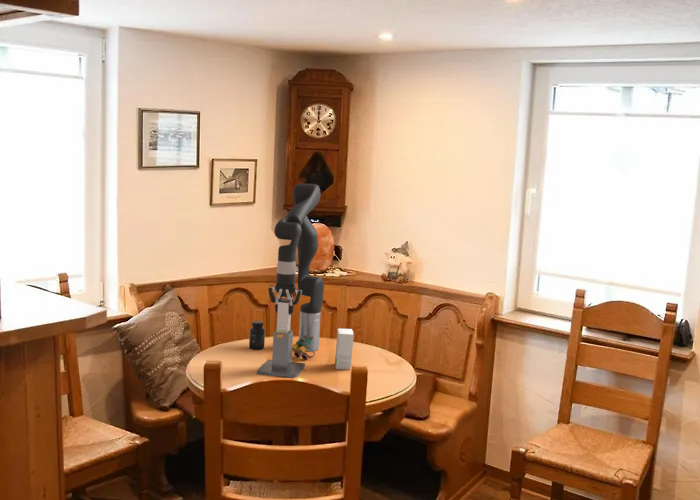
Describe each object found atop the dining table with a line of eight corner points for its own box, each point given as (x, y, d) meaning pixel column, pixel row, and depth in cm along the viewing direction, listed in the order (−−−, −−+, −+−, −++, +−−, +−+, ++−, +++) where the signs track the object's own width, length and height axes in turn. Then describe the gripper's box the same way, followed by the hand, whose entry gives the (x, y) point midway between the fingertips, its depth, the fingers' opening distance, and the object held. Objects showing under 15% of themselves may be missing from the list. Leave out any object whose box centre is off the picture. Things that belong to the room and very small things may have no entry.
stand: (268, 362, 299) (269, 325, 297) (305, 366, 296) (307, 329, 294) (256, 374, 283) (258, 335, 281) (295, 378, 281) (297, 339, 278)
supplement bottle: (245, 348, 318) (246, 322, 316) (255, 345, 324) (256, 319, 322) (257, 351, 315) (258, 324, 313) (267, 348, 320) (268, 322, 319)
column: (278, 348, 291) (280, 297, 288) (289, 349, 290) (291, 299, 288) (275, 351, 287) (277, 300, 284) (286, 352, 286) (288, 301, 283)
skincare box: (334, 363, 304) (336, 327, 301) (350, 364, 304) (352, 328, 302) (336, 369, 295) (338, 333, 293) (351, 370, 296) (354, 333, 294)
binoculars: (294, 360, 311) (287, 344, 306) (306, 346, 317) (299, 330, 311) (311, 365, 306) (303, 349, 300) (323, 351, 311) (316, 334, 306)
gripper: (305, 271, 287) (303, 313, 289) (271, 268, 289) (269, 310, 291) (301, 275, 279) (299, 317, 282) (266, 271, 282) (264, 313, 284)
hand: (284, 313), depth 286 cm, fingers closed on column, 4 cm apart
